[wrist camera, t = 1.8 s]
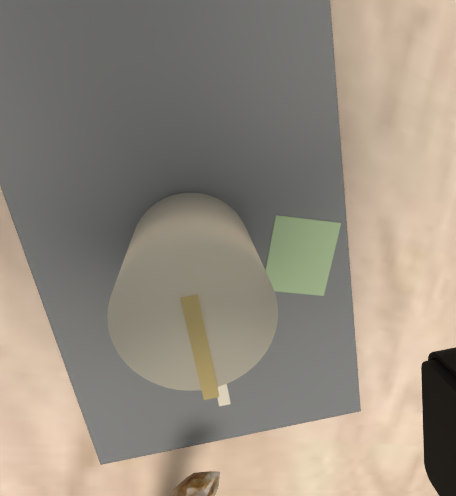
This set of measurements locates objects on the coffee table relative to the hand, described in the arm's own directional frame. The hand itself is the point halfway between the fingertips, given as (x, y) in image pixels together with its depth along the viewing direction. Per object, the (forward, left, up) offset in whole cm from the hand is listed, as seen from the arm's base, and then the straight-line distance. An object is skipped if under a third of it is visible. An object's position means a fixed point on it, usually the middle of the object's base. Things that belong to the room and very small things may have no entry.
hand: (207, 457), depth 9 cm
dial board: (-1, 0, -13) cm, 13 cm away
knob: (+1, 0, -11) cm, 11 cm away
